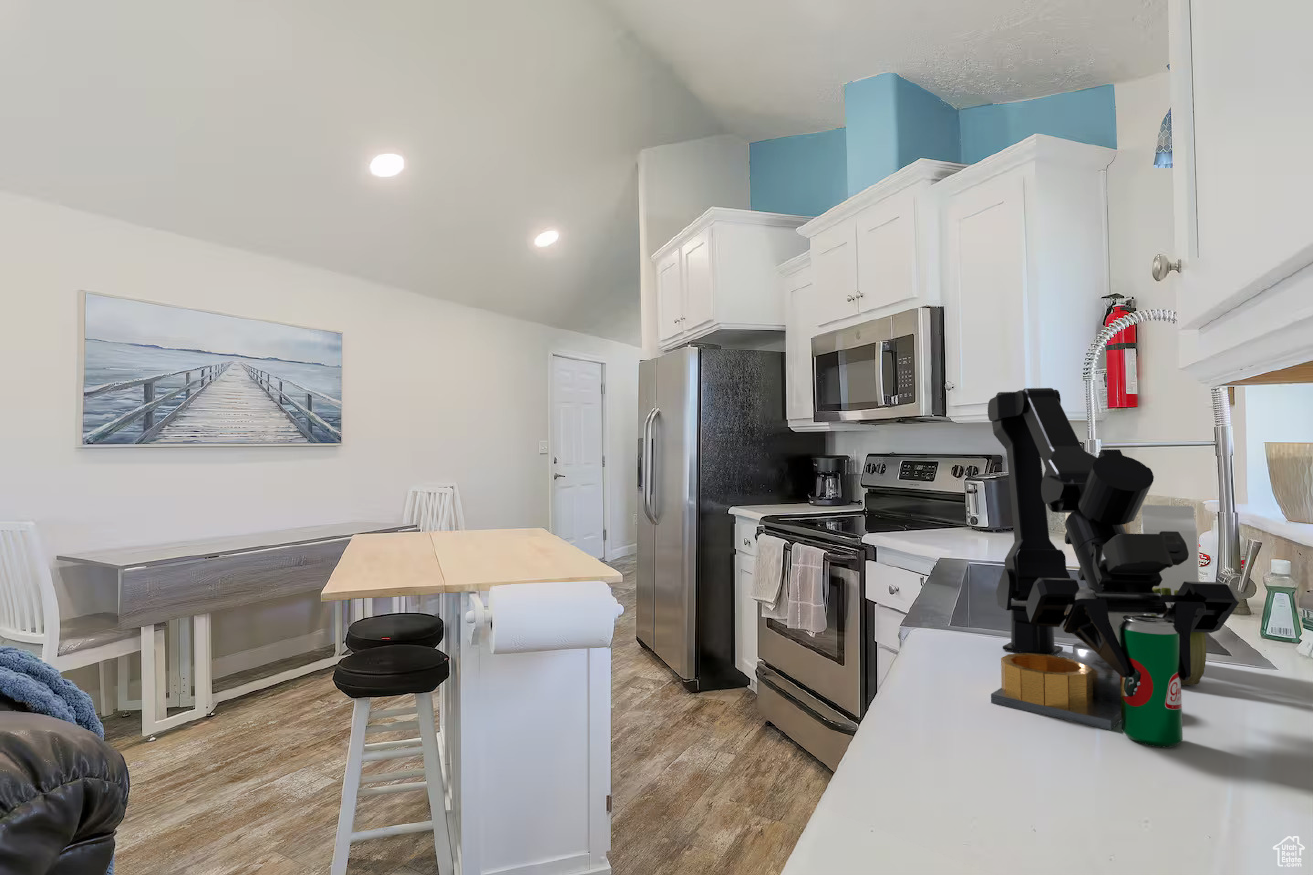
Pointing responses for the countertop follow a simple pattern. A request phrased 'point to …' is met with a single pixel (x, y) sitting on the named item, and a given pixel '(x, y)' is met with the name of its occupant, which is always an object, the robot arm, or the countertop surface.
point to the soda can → (1151, 681)
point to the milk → (1184, 523)
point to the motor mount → (1062, 686)
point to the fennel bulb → (1192, 648)
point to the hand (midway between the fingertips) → (1156, 676)
